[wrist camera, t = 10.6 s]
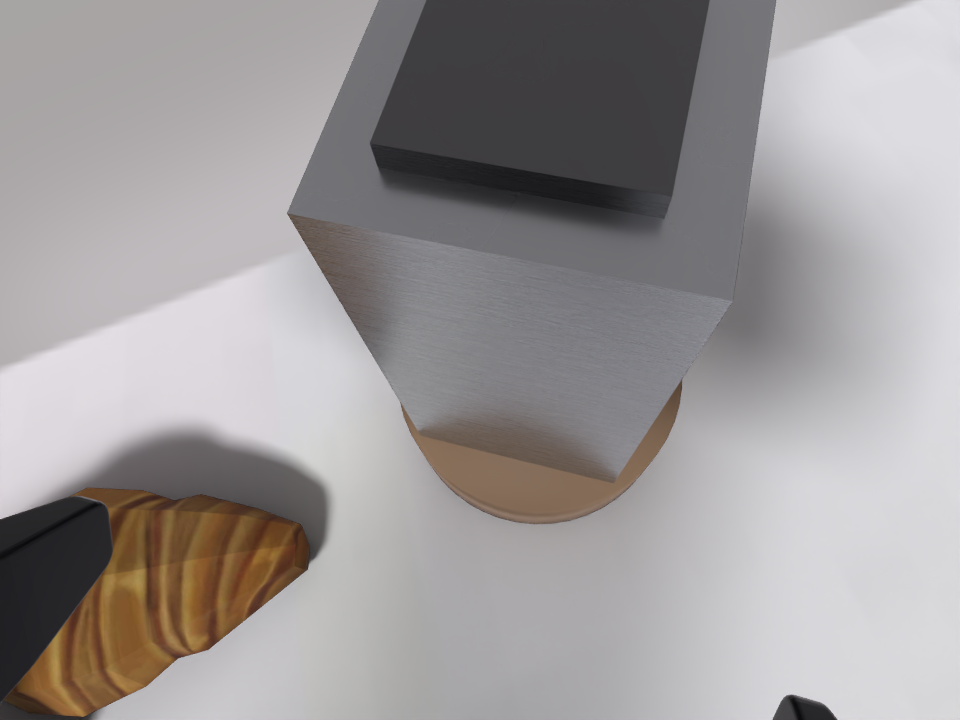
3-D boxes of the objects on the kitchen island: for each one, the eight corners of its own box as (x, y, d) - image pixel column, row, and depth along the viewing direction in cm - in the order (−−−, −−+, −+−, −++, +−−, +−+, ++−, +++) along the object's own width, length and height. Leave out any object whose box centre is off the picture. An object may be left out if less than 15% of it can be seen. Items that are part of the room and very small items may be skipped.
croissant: (-82, 754, 21) (-258, 794, 16) (-60, 540, 23) (-208, 521, 19) (332, 659, 21) (277, 672, 16) (309, 457, 23) (255, 418, 19)
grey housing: (613, 483, 19) (745, 281, 8) (420, 435, 20) (273, 190, 8) (648, 305, 21) (794, -71, 10) (471, 269, 22) (408, -113, 10)
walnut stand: (671, 528, 21) (692, 516, 19) (402, 519, 22) (384, 505, 19) (656, 286, 25) (672, 244, 22) (422, 285, 25) (409, 244, 23)
